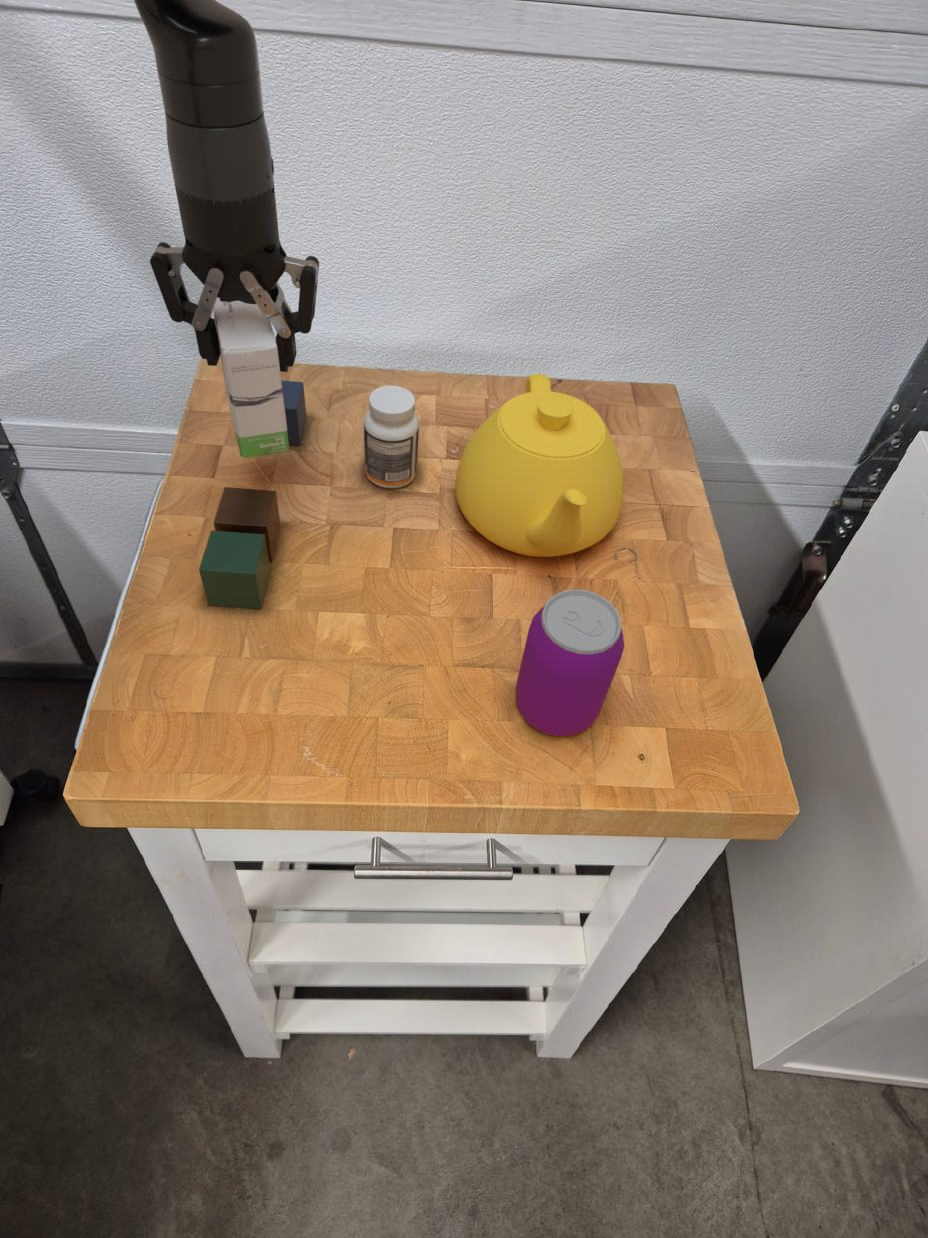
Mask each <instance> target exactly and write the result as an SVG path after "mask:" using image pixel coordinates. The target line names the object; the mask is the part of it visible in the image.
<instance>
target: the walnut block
mask: <svg viewBox="0 0 928 1238" xmlns="http://www.w3.org/2000/svg"><path fill="white" fill-rule="evenodd" d="M213 526H214V531H224V532H238V533H252V534H264V535H265V538H266V544H267V551H268V557H269V563H273V562H274V558H275V555H276V554H275V553H276V550H277V545H278V541H279V537H280V533H281V528H282V526H281V519H280V510H279V503H278V496H277V491H276V490H270V489H255V488H243V487H231V486H230V487H229V486H224V488H223V491H222V494H221V497H220V501H219V503H218V507H217V510H216V513H215V516H214V519H213Z"/></svg>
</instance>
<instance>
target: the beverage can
mask: <svg viewBox="0 0 928 1238" xmlns="http://www.w3.org/2000/svg"><path fill="white" fill-rule="evenodd" d="M624 639H625V638H624V632H623V628H622V620H621V616H620V614H619V612H618V610H617V608H616V607H615V606H614V605H613V604H612V603H611V602H610V601H609V599H607V598H606V597H603V596H602V595H600V594H598V593H596V592H593V591H590V590H586V589H577V588H575V589H574V588H573V589H568V590H562V591H560V592H558V593H556V594H554V595H553V596H551V597H550V598H549V599H548V600H547V602H546V603H545V604H544V605H543V606H542V607H541V608H540V609H539V610H538V612H537V613H535V614H534V616H533V617H532V618H531V622H530V624H529V627H528V631H527V635H526V639H525V645H524V648H523V653H522V657H521V661H520V665H519V670H518V675H517V680H516V684H515V705H516V706H517V709H518V711H519V714H520V716H522V718H523V719H524V720H525V721H526V722H527V723H528V724H529V725H530V726H531V727H533V728H534V729H536V730H538V731H539V732H541V733H544V734H547V735H550V736H554V737H555V736H556V737H570V736H575V735H578V734H581V733H582V732H584V731H586V730H587V729H589V728H590V727H591V726H592V725H593V724H594V722H595V721H596V720H597V718H598V717H599V715H600V713H601V711H602V709H603V705H604V703H605V701H606V698H607V695H608V693H609V690H610V688H611V685H612V682H613V680H614V677H615V674H616V672H617V670H618V667H619V664H620V662H621V660H622V656H623V652H624V648H625V640H624Z"/></svg>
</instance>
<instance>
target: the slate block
mask: <svg viewBox="0 0 928 1238" xmlns="http://www.w3.org/2000/svg"><path fill="white" fill-rule="evenodd" d="M281 382H282V390H283V399H284V407H285V415H286V423H287V432H288V442H289V446H299V447H300V446H301V443H302V439H303V435H304V430H305V426H306V423H307V408H306V398H305V397H306V396H305V386H304V381H294V380H282V379H281Z"/></svg>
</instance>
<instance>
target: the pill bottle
mask: <svg viewBox="0 0 928 1238" xmlns="http://www.w3.org/2000/svg"><path fill="white" fill-rule="evenodd" d="M415 411H416V398H415V396H414V394H413V393H412V392H411V391H410V390H409V389H407V388H405V387H403V386H399V385H389V384H387V385H383V386H379V387H377V388H375V389H374V390H373V391H372V392H371V393H370V394H369V397H368V411H367V413H366V414H365V416H364V418H363V419H364V420H363V445H364V446H363V447H364V451H363V452H364V453H363V454H364V472H365V476H366V477H367V478H368V481H370V482H371V483H373V484H374V485H375V486H378V487H380V488H383V489H399V488H403V487H405V486H408V485H410V483H411V482H413V480H415V478H416V476H417V471H418V458H419V457H418V456H419V434H420V421H419V418H418V416H417V414H416V412H415Z"/></svg>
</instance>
